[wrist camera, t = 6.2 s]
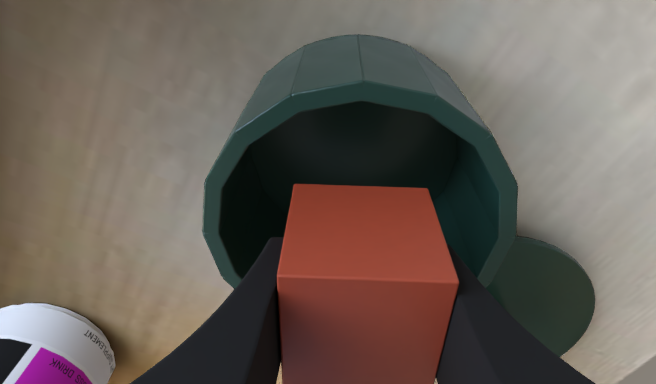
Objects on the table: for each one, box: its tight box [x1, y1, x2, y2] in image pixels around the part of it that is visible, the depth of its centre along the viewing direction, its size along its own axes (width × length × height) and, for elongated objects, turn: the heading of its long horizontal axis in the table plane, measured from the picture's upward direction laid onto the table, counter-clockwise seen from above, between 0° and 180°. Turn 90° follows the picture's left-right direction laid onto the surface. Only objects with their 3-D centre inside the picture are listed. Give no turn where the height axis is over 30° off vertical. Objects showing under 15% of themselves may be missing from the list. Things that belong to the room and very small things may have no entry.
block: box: [277, 184, 459, 384], centre depth 13 cm, size 4×4×4 cm
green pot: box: [202, 34, 518, 289], centre depth 17 cm, size 10×10×6 cm
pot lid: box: [485, 236, 595, 357], centre depth 23 cm, size 11×11×5 cm
